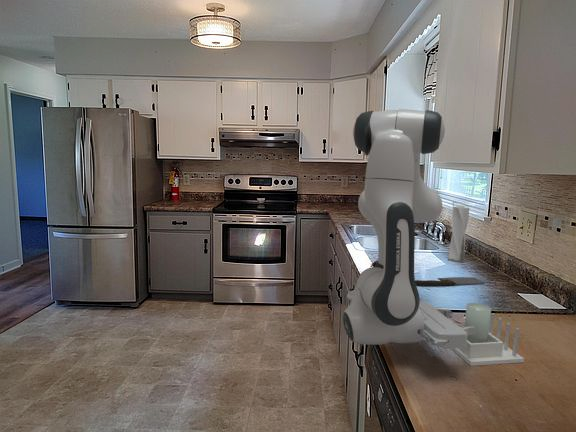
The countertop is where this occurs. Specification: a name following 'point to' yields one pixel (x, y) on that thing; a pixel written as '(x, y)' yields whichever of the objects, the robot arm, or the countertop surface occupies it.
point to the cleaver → (449, 282)
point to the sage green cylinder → (478, 322)
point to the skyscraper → (458, 233)
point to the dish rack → (491, 348)
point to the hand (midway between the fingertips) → (461, 321)
